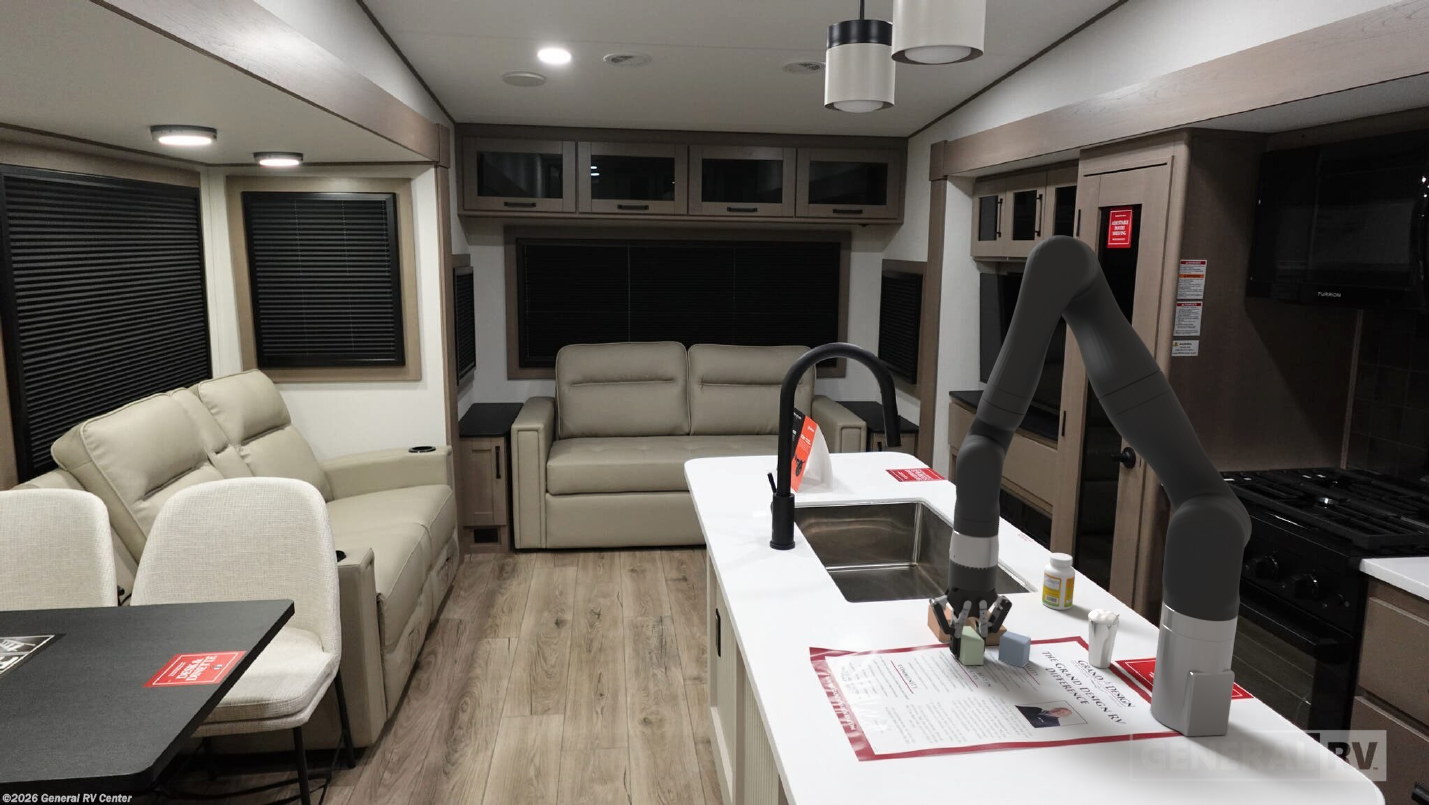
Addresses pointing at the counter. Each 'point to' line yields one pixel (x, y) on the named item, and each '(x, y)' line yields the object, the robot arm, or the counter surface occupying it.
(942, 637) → the terracotta brick
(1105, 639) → the milkshake
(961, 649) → the sage brick
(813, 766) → the counter surface
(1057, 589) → the supplement bottle
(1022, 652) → the slate brick
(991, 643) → the walnut block
